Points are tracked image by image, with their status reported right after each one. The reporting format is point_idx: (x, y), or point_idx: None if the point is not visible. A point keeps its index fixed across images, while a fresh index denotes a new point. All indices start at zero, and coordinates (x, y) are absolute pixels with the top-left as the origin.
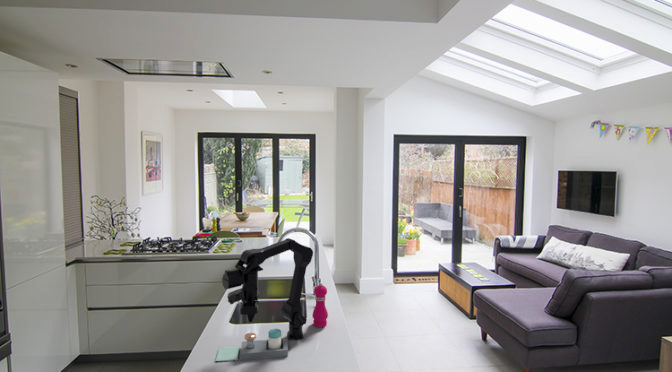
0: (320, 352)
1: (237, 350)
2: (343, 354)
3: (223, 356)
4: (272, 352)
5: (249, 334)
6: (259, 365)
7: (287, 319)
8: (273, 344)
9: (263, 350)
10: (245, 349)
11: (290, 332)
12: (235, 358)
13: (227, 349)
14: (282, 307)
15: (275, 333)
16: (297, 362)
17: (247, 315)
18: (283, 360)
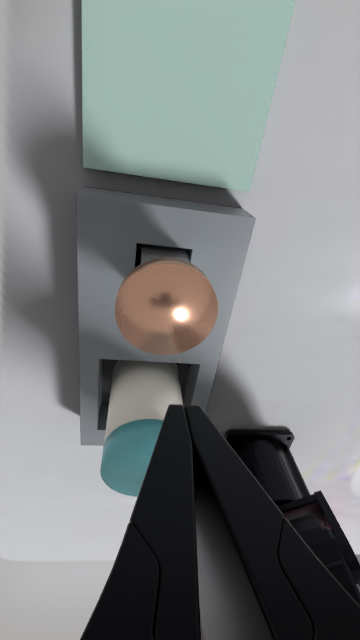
0: (95, 506)
1: (200, 173)
2: (70, 549)
3: (142, 40)
4: (81, 381)
5: (190, 307)
6: (12, 299)
7: (308, 502)
8: (108, 409)
9: (97, 345)
10: (132, 238)
11: (247, 459)
12: (93, 152)
13: (242, 87)
14: (355, 594)
15: (122, 473)
16: (30, 445)
17: (133, 522)
18: (52, 402)
